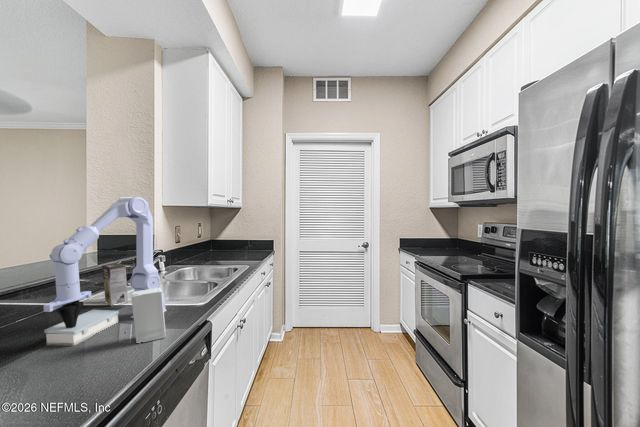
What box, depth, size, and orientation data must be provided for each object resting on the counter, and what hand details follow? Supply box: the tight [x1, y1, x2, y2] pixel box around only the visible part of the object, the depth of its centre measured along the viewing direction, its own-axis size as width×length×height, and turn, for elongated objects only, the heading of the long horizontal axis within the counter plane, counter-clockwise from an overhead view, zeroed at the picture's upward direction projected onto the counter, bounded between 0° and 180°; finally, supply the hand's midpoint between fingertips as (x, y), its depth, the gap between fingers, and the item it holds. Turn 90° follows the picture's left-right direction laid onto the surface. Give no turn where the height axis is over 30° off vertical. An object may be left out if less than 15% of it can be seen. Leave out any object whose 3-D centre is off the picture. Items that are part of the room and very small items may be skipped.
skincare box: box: [130, 286, 167, 344], centre depth 100 cm, size 8×6×15 cm
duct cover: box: [44, 309, 120, 334], centre depth 106 cm, size 10×18×1 cm, turn 173°
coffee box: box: [102, 263, 129, 307], centre depth 139 cm, size 9×6×16 cm
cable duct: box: [45, 313, 119, 347], centre depth 107 cm, size 10×18×4 cm, turn 173°
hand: (70, 327), depth 100 cm, fingers closed, pressing on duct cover
